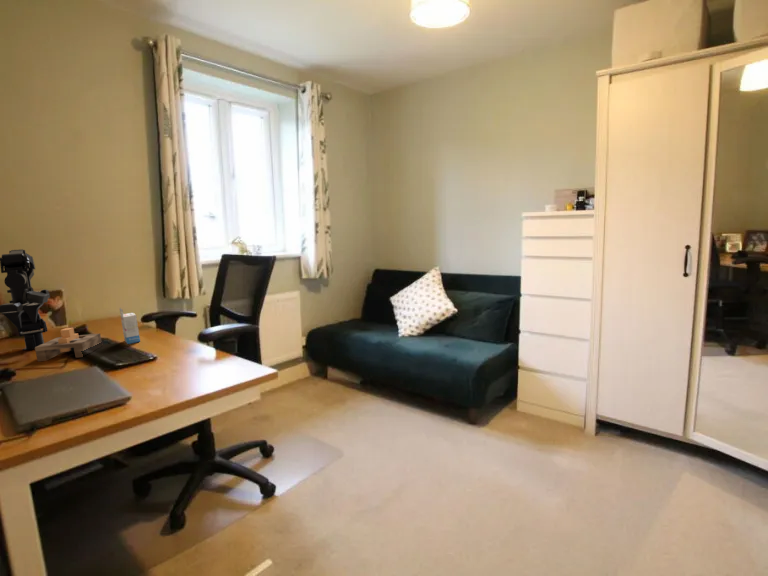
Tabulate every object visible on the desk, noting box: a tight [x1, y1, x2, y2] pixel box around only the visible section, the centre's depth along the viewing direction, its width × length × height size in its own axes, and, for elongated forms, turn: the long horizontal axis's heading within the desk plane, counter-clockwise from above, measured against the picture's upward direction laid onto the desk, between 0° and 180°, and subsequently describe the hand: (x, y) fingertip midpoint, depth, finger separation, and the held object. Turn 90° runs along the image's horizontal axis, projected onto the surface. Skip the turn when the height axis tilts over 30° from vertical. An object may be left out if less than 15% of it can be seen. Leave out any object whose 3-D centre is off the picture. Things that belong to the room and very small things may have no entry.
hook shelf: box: [34, 333, 103, 362], centre depth 164 cm, size 14×16×6 cm
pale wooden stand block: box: [58, 327, 79, 353], centre depth 164 cm, size 8×3×8 cm, turn 9°
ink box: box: [119, 307, 141, 345], centre depth 177 cm, size 8×5×15 cm, turn 39°
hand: (27, 325), depth 163 cm, fingers open, 9 cm apart
